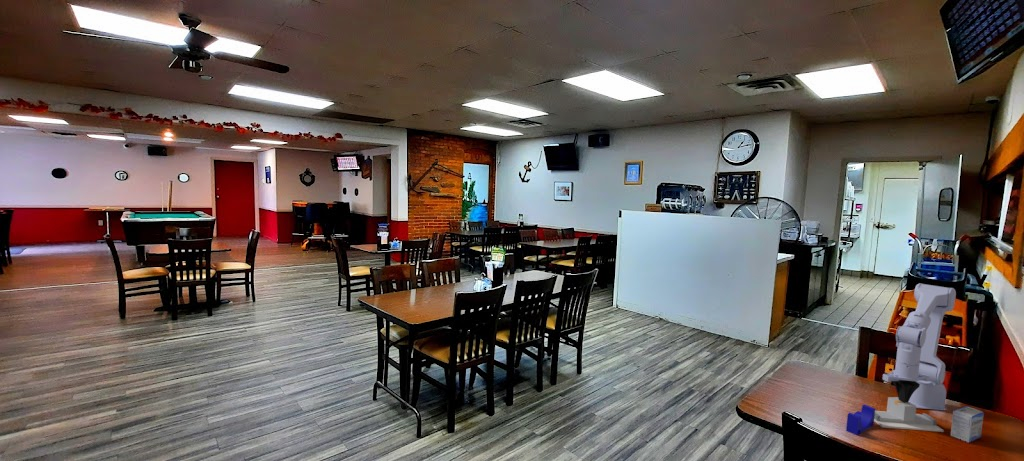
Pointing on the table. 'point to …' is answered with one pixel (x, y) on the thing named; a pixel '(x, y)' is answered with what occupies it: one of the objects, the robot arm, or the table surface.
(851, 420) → the cable clip
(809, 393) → the table surface
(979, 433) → the medicine box
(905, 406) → the block
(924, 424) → the rail board
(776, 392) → the table surface
